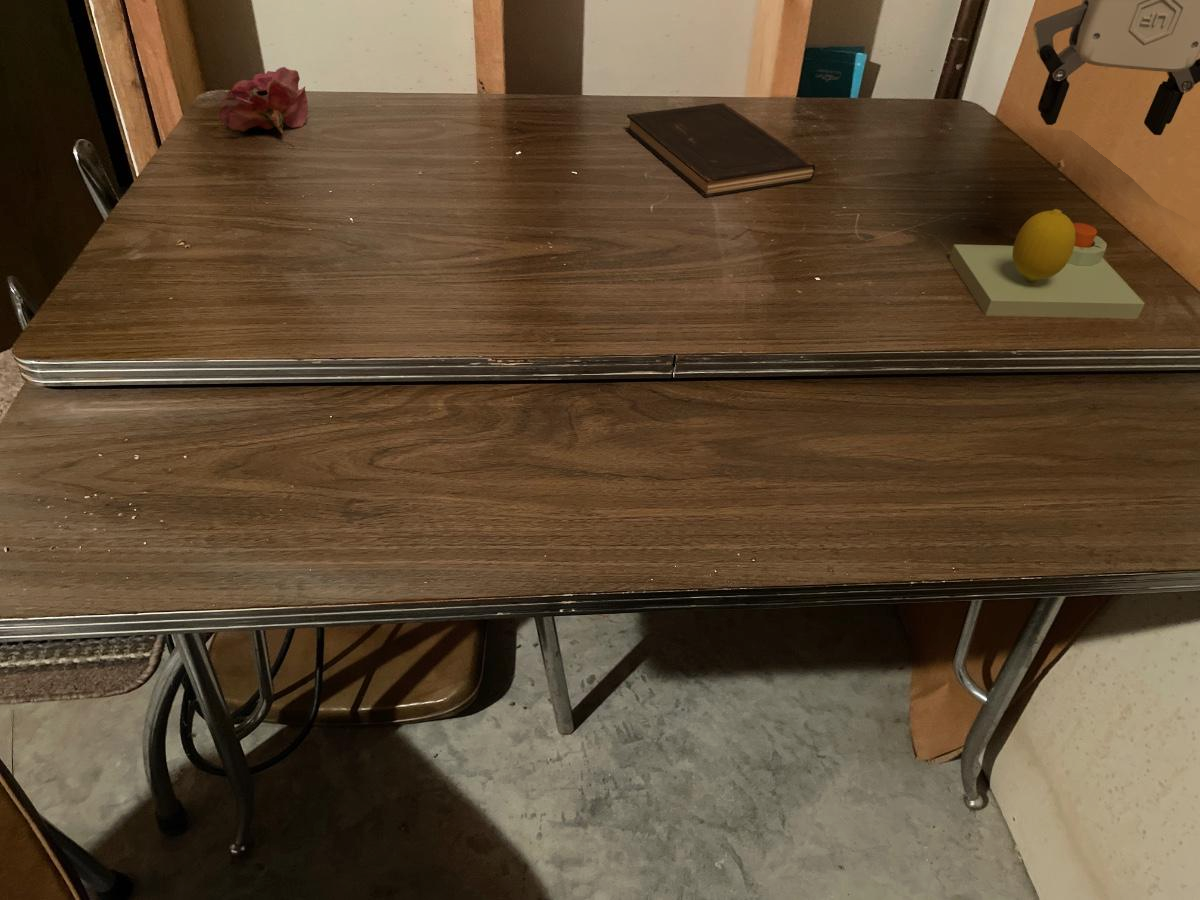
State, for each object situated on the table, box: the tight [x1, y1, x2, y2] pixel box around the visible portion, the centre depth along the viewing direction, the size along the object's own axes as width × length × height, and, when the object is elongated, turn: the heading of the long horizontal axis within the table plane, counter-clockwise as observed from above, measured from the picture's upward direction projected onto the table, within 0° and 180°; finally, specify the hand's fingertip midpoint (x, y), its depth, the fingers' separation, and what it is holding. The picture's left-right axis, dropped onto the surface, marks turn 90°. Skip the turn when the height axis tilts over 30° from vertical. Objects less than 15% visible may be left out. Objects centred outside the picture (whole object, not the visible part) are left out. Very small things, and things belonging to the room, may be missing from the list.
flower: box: [218, 66, 309, 147], centre depth 120 cm, size 11×10×10 cm
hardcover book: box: [625, 102, 816, 198], centre depth 122 cm, size 16×23×2 cm
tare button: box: [1072, 222, 1098, 248], centre depth 100 cm, size 3×3×2 cm
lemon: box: [1012, 208, 1076, 282], centre depth 93 cm, size 6×6×8 cm
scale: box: [948, 235, 1145, 320], centre depth 98 cm, size 16×13×4 cm
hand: (1099, 124), depth 87 cm, fingers open, 9 cm apart
